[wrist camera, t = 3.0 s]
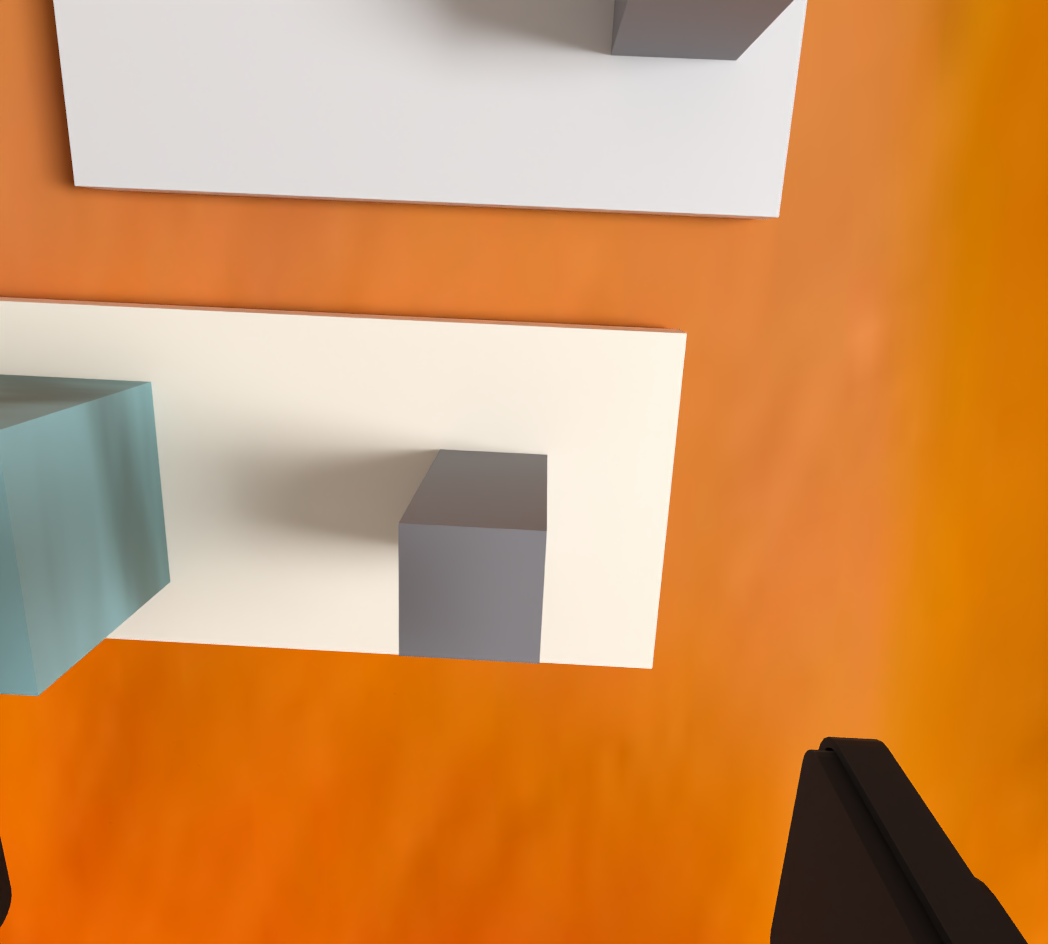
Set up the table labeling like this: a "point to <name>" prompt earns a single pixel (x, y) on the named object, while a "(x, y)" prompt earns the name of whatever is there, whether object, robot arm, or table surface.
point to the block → (74, 520)
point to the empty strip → (438, 101)
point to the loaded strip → (391, 475)
